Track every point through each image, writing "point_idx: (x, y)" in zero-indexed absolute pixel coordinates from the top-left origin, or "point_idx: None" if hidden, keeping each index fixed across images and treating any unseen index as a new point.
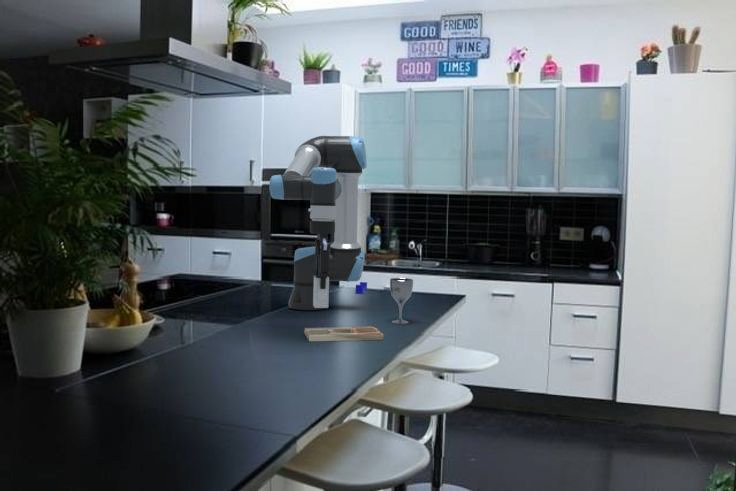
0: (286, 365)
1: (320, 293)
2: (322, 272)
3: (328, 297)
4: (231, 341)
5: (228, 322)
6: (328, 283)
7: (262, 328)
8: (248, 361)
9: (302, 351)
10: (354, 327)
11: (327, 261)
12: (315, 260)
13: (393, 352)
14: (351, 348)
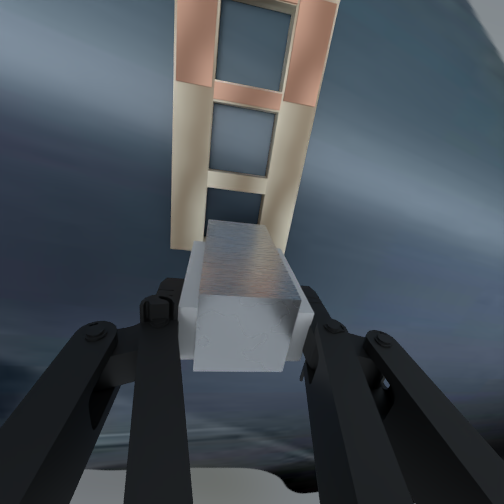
0: (445, 323)
1: None
2: (377, 384)
3: (272, 242)
4: (239, 383)
5: (13, 386)
6: (289, 279)
7: None
8: None
9: (368, 284)
10: (189, 72)
11: (490, 464)
12: (68, 500)
13: (489, 64)
14: (391, 171)
